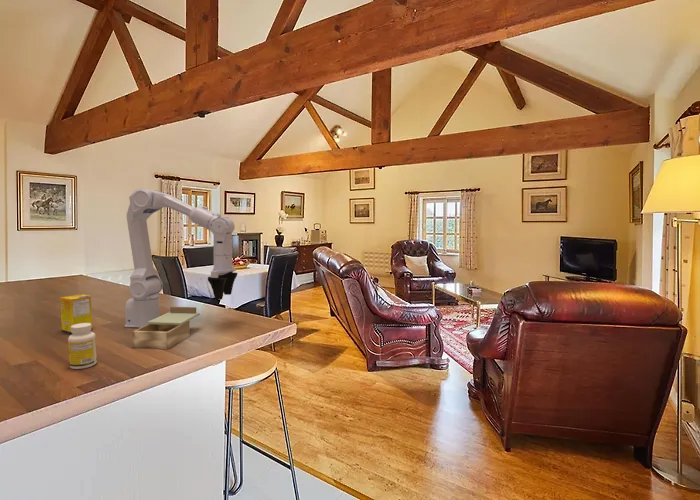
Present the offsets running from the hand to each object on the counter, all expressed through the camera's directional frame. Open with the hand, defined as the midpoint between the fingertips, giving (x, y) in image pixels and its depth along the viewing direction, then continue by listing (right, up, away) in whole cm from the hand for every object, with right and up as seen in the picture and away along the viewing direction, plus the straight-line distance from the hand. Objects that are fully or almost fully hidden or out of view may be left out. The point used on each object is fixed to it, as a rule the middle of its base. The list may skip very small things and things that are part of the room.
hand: (223, 296), depth 126 cm
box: (-12, -11, -15) cm, 22 cm away
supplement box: (-43, -10, -6) cm, 45 cm away
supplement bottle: (-23, -13, -33) cm, 42 cm away
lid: (-12, -6, -8) cm, 16 cm away
